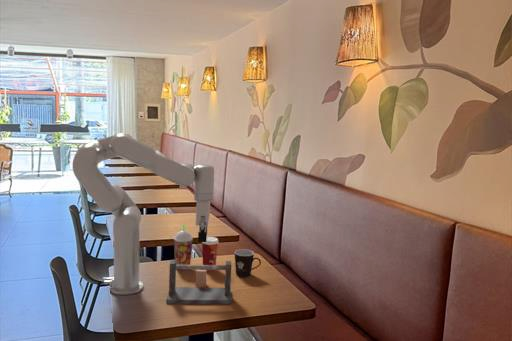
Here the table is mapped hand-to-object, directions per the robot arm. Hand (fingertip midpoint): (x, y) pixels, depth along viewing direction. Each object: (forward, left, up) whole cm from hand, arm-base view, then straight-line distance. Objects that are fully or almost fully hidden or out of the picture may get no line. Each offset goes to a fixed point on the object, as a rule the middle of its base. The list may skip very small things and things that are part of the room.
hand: (202, 238), depth 172 cm
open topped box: (0, 0, -20) cm, 20 cm away
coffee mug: (+19, +12, -21) cm, 30 cm away
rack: (0, -10, -20) cm, 23 cm away
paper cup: (+3, +19, -21) cm, 28 cm away
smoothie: (-9, +20, -21) cm, 30 cm away
